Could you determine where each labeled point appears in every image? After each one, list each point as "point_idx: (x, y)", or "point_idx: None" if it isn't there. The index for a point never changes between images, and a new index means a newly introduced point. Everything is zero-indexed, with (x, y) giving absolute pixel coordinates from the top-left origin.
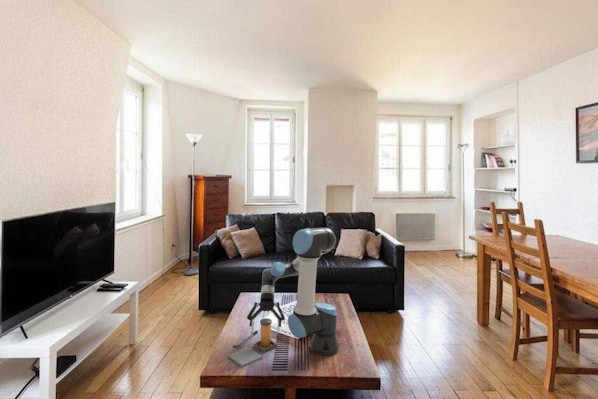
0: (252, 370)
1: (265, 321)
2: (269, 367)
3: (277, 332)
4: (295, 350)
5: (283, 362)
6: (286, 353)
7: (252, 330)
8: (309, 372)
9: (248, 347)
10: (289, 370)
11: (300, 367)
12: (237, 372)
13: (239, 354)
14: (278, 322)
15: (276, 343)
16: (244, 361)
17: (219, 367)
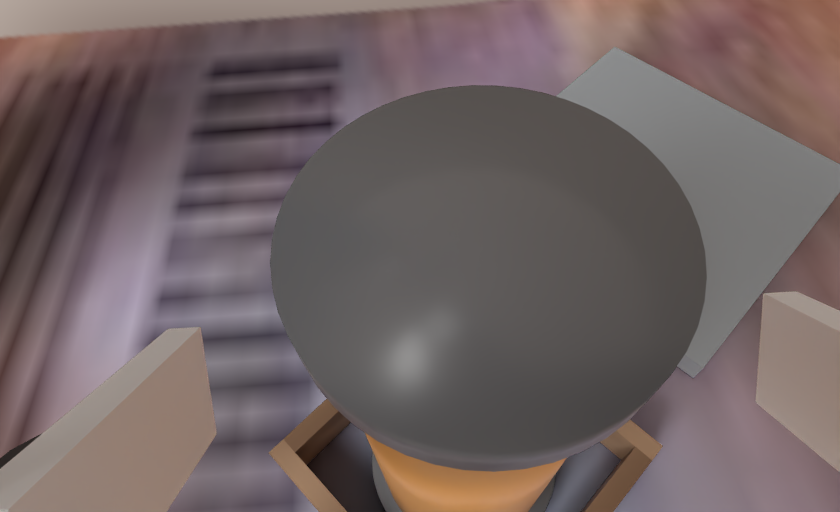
0: (506, 38)
1: (486, 183)
2: (364, 80)
3: (200, 367)
4: (35, 391)
5: (230, 152)
6: (171, 311)
7: (780, 298)
8: (32, 53)
9: (699, 358)
10: (191, 61)
11: (85, 100)
12: (621, 11)
13: (734, 194)
14: (48, 442)
15: (281, 461)
16: (618, 93)
17: (814, 48)
